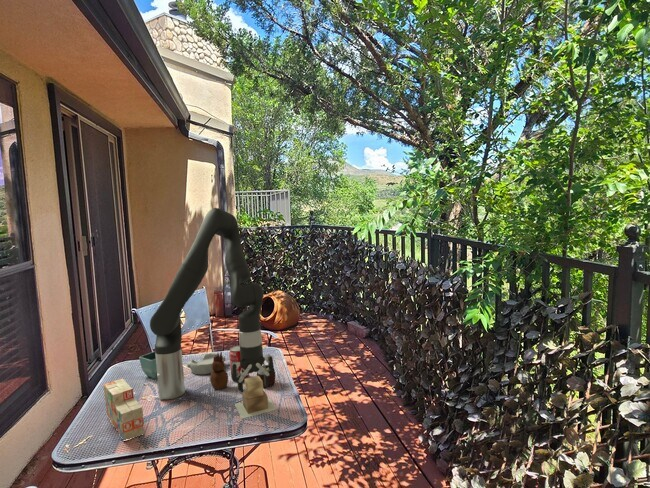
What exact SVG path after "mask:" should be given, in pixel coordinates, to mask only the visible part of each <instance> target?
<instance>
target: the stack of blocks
mask: <svg viewBox="0 0 650 488" xmlns="http://www.w3.org/2000/svg"><path fill="white" fill-rule="evenodd" d="M102 386H103V390H104V401H105V407H106V416H107V415H108V417H109V418H110V420H111V422H112V424H113V425H114V426H115V428H116V429H117V430H118V433H119V434H120V436H121V437H122V438H123V440H126V439H130V438H133V437H136V436H139V435H142V434H144V435H145V427H144V417H143V416H144V413H143V411H144V410H143V406H142V405H141V404H140V403H139V402H138V401H137V399H136V398H135V397H134V396H135V395H134V388H133V387H132V386H130V385H129V383H127V381H126V380H125V379H124V378H121V379H116V380H113V381H110V382H106V383H104V384H103V385H102ZM108 417H107V418H108ZM112 424H111V425H112ZM115 428H114V429H115ZM118 433H117V434H118ZM119 434H118V435H119ZM120 436H119V437H120Z"/></svg>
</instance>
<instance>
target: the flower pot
mask: <svg viewBox="0 0 650 488" xmlns="http://www.w3.org/2000/svg"><path fill="white" fill-rule="evenodd" d="M138 359H139V363H140V367H141V370H142V372H143V373H144V374H145V376H147V377H149V378H151V379H157V378H158V377H157V365H156V355H155V350H154V351H152V352H149V353H146V354H143V355H141V356H139V357H138Z"/></svg>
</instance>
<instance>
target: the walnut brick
mask: <svg viewBox="0 0 650 488" xmlns="http://www.w3.org/2000/svg"><path fill="white" fill-rule="evenodd" d="M263 394H264V395H263V396H259V397H254V398H250V399H249V398H248V396H247V394H246V392H245V391H243V392H242V394H241V395H242V397H241V398H242V402H243V406H244V408H245V409H246V411H247V413H248V414H249V413H253V412H257V411H261V410H265V409H268V397H269V396H268V395H267V393H266V392H265V390H264V389H263ZM267 396H268V397H267Z"/></svg>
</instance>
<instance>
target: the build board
mask: <svg viewBox="0 0 650 488" xmlns="http://www.w3.org/2000/svg"><path fill="white" fill-rule="evenodd" d="M267 397H268V409H265V410H261V411H257V412H253V413H249V414H248V413H247V411H246V409H245V408H244V406H243V401H242V402H238V403H234V406H235V408H236V410H237V412H238V415H239V416H240V418H241V419H245V418H246V419H247V418H249V417H254V416H257V415H261V414H265V413H269V412H272V411H276V410H278V407H276V405H275V404H274V403H273V401H272V400H271V398H270V397H269V396H268V395H267Z"/></svg>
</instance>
